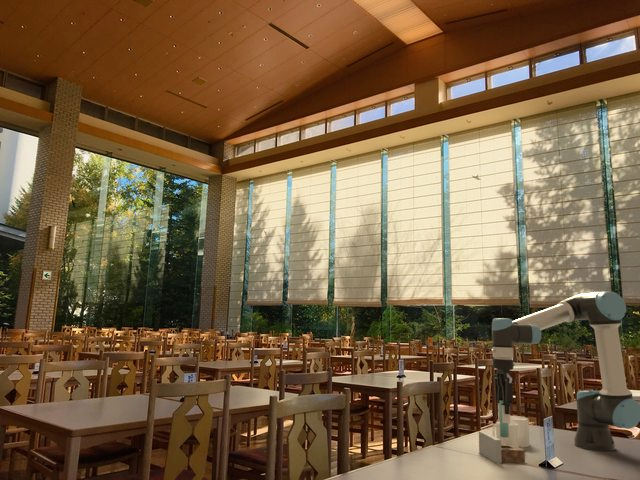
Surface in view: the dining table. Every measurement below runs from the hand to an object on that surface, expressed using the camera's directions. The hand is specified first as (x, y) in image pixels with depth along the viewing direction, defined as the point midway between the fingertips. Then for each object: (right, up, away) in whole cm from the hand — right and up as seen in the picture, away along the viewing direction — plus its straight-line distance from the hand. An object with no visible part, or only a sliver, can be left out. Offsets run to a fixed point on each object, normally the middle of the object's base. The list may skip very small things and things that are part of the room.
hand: (504, 422), depth 193 cm
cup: (+5, -16, +14) cm, 22 cm away
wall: (-6, -13, -3) cm, 14 cm away
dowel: (0, -5, -1) cm, 5 cm away
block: (0, -13, -2) cm, 13 cm away
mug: (+14, -18, +24) cm, 34 cm away
